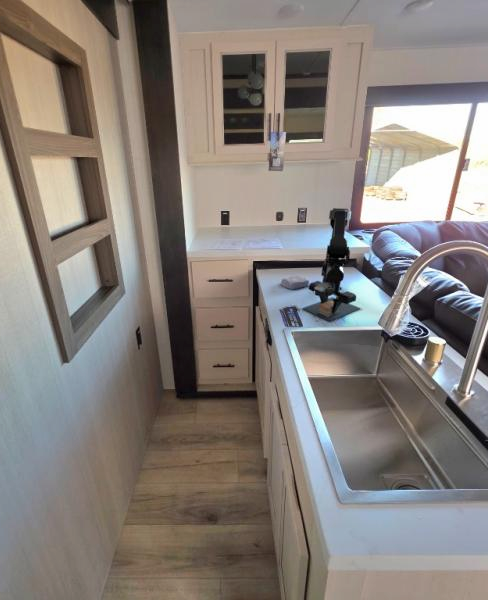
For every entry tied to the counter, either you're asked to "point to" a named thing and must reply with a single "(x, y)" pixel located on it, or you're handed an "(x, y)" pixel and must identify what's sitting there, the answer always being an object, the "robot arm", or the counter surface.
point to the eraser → (327, 309)
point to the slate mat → (343, 310)
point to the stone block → (295, 282)
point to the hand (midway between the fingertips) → (328, 311)
